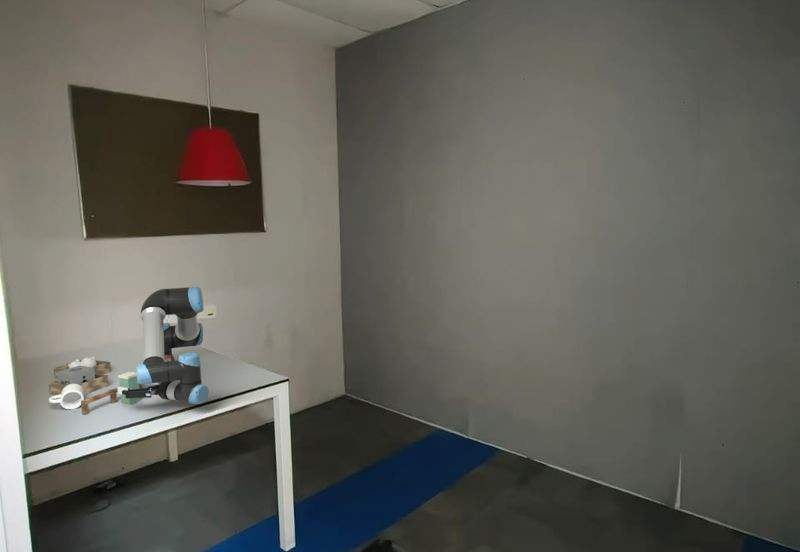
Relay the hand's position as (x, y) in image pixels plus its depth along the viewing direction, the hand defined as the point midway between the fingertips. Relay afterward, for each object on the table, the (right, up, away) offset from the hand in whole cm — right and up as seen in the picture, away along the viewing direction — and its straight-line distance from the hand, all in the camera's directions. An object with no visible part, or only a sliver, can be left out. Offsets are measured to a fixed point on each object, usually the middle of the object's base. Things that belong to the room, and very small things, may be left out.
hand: (133, 384), depth 201 cm
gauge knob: (+6, +6, +15) cm, 17 cm away
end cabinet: (+2, -6, +18) cm, 19 cm away
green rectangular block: (-2, -8, +3) cm, 9 cm away
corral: (-40, -5, +29) cm, 49 cm away
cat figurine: (-48, -4, +42) cm, 64 cm away
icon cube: (-34, -7, +16) cm, 38 cm away
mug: (-26, -9, -1) cm, 28 cm away
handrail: (-9, -8, +3) cm, 13 cm away
